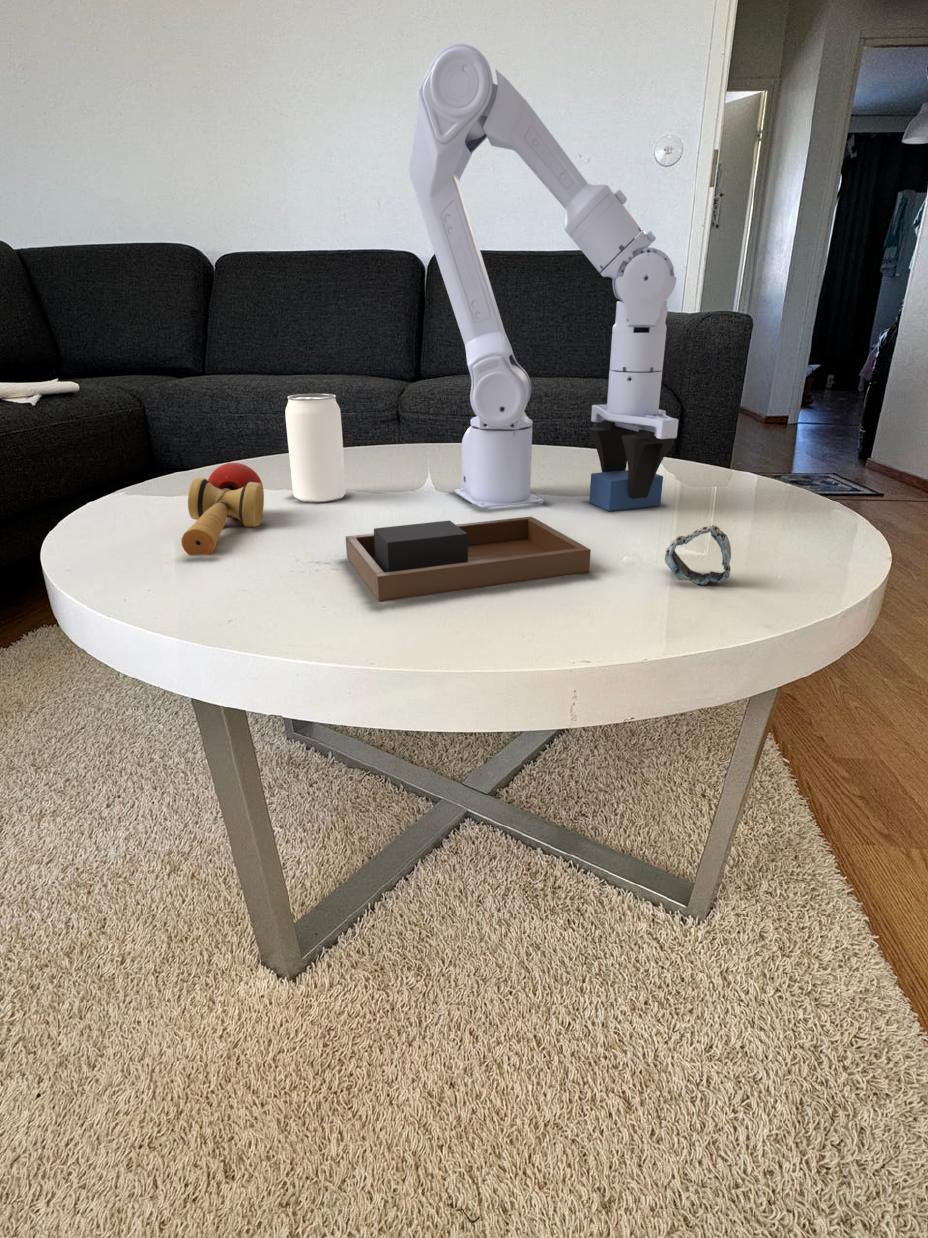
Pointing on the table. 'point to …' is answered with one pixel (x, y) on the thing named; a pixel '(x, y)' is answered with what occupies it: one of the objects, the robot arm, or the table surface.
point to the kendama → (222, 505)
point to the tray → (477, 560)
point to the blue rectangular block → (621, 491)
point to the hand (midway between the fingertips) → (625, 492)
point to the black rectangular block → (420, 546)
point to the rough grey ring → (686, 574)
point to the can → (315, 447)
